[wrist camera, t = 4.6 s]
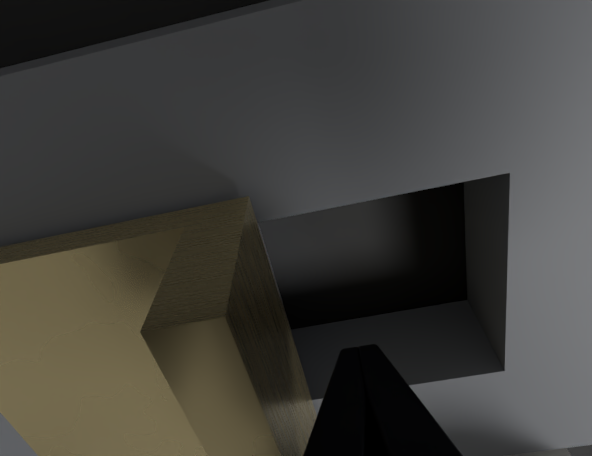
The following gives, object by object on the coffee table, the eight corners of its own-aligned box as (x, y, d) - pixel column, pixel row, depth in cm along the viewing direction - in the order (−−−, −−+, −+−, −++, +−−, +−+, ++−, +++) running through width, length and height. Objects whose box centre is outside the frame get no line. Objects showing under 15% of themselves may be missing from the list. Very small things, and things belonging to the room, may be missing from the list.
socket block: (552, 367, 16) (601, 443, 14) (56, 442, 18) (17, 519, 16) (600, -84, 9) (719, -104, 7) (-207, 120, 11) (-354, 164, 9)
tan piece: (320, 426, 13) (328, 574, 10) (77, 461, 13) (13, 607, 10) (248, 196, 9) (224, 317, 6) (-82, 264, 10) (-259, 401, 7)
